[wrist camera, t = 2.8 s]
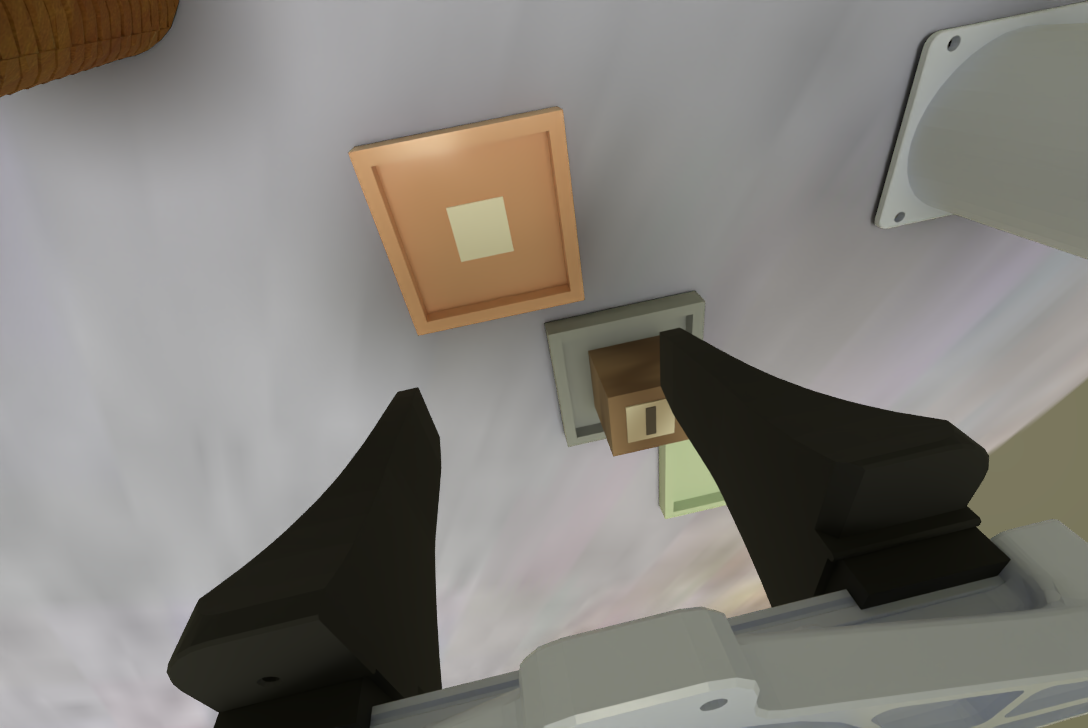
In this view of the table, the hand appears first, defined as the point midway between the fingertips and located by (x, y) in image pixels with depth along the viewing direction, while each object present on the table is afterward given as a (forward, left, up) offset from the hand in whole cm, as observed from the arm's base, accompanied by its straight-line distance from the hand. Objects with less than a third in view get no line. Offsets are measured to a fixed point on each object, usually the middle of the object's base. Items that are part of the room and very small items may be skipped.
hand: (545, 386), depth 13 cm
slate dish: (-5, +8, -10) cm, 13 cm away
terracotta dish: (+1, -2, -10) cm, 10 cm away
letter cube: (-5, +8, -9) cm, 13 cm away
